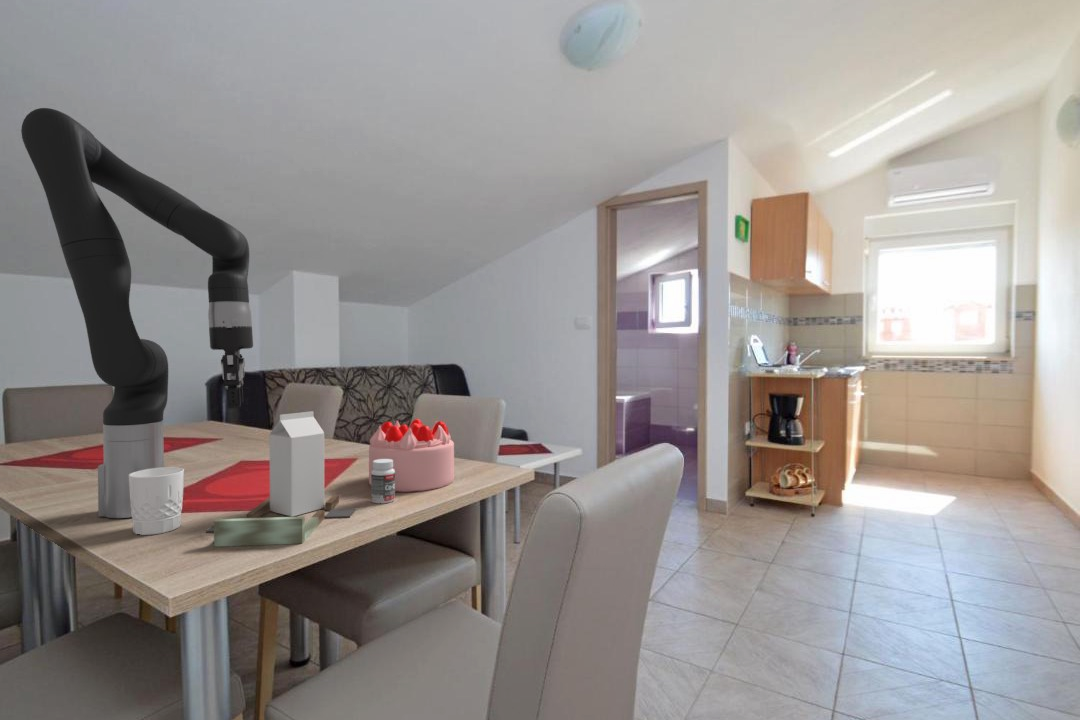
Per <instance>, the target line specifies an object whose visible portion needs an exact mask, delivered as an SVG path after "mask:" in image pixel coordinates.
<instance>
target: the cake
mask: <svg viewBox="0 0 1080 720" xmlns="http://www.w3.org/2000/svg"><path fill="white" fill-rule="evenodd" d="M369 443H370V445H369V446H368V484H369V485H370V486H371V472H372V470H374V468H373V461H374V460H378V459H392V460H393V467H392V468H393V469H394V470H395V493H397V492H400V493H402V492H403V493H407V492H408V493H410V492H422V491H423V492H425V491H430V490H436V489H441V488H443V487H446V486H448V485H450V484H451V483H452V482H453V480H455V479H454V478H455V442H454V441H453V440H452V439H451V434H450V431H449V429H448V427H447V424H446V423H445V422H444V421H441V420H439V421H438V420H435V422H434V424H433V426H432V428H431V429H430V426H428V425H426V424H423V422H422V420H420V419H418V418H416V419H413V420H412V421H411V423H410V424H409V427H408V425H407V424H400V422H399V420H396V422H395V423H394V425H393V423H392V422H391V421H385V422H383V423H382V424H381V425H379V426H378V429H377V430H376V431H375V432H374V433H373V435H371V436H370V438H369Z"/></svg>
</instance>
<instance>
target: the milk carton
mask: <svg viewBox="0 0 1080 720" xmlns="http://www.w3.org/2000/svg"><path fill="white" fill-rule="evenodd" d="M314 413H315V412H314V411H313V410H312V411H311V410H310V411H304V412H302V411H301V412H293V413H285V414H284V413H283V414H279V420H278V422H277V423H276V424H275V426H274V427H273V429H272V430H271V431H270V433H269V497H270V510H269V511H270V512H273V513H277V514H280V515H284V516H286V517H298V516H301V515H303V514H307V513H311V512H314V511H319V510H322V509H325V431H324V430H323V428H322V427H321V425H320V424H319V422H318V421H317V419H316V418H315V417H314Z"/></svg>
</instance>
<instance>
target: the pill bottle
mask: <svg viewBox="0 0 1080 720" xmlns="http://www.w3.org/2000/svg"><path fill="white" fill-rule="evenodd" d="M392 467H393V460H392V459H378V460H374V461H373V468H374V470H372V472H371V485H370V487H371V489H370V490H371V491H370V493H371V496H370V497H371V498H370V500H371V502H372V503H375V504H380V503H381V504H388V503H392V502H394V501H395V500H396V492H395V470H394V469H393V468H392Z"/></svg>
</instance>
